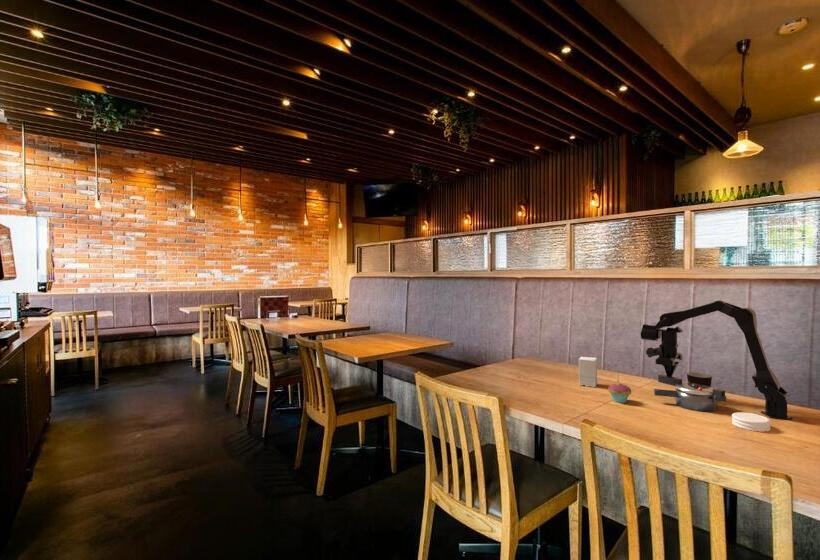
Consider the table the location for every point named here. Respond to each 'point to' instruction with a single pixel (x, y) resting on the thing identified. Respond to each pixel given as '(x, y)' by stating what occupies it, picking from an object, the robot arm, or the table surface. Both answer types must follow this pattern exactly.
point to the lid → (690, 386)
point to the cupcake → (619, 392)
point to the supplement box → (588, 371)
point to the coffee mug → (699, 378)
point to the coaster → (751, 421)
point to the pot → (692, 400)
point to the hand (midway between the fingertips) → (669, 378)
